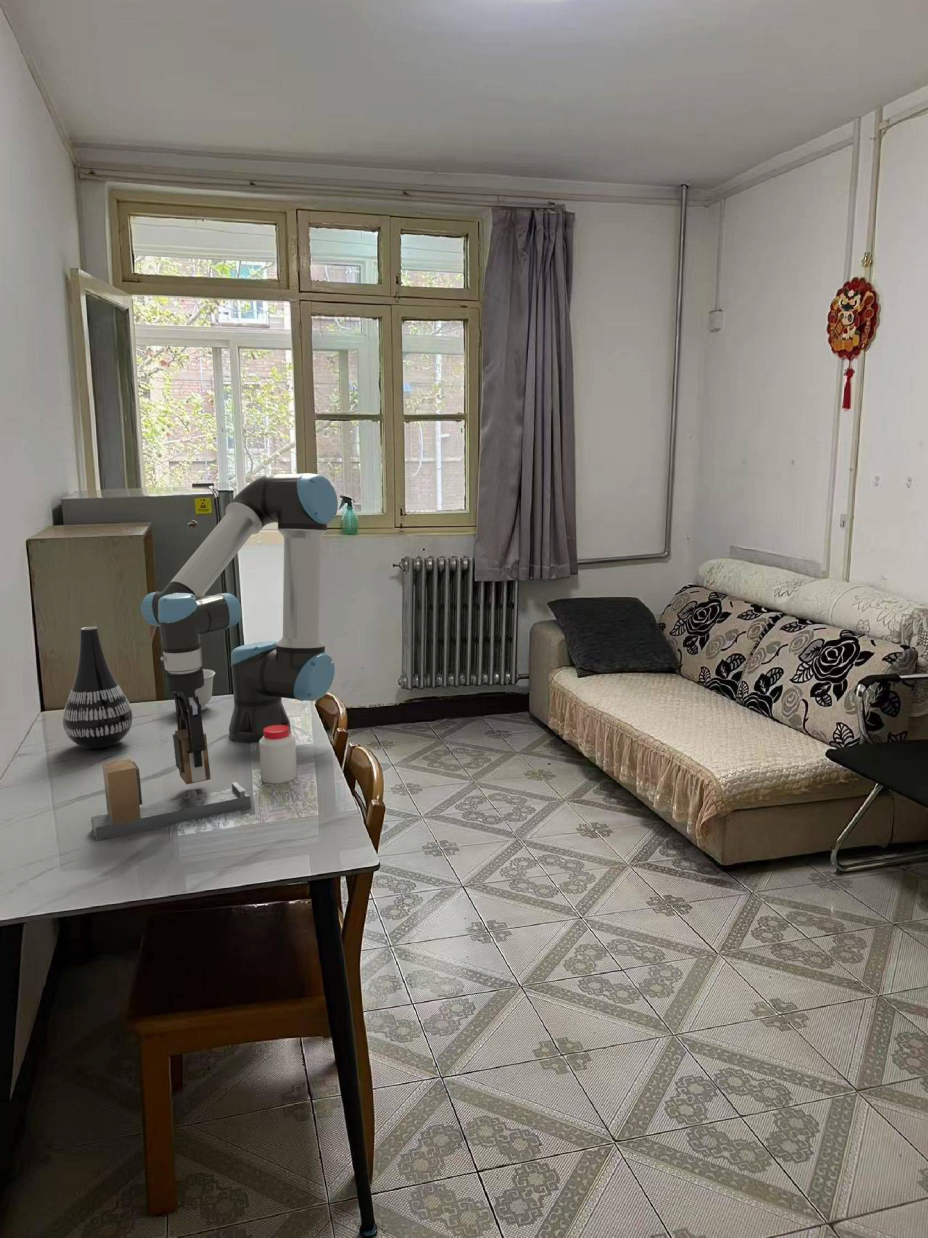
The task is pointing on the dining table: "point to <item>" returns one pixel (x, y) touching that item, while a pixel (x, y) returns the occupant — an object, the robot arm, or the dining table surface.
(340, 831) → the dining table surface
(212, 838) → the dining table surface
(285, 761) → the pill bottle
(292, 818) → the dining table surface
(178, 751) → the brown wooden block
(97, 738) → the vase
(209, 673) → the teacup
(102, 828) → the rail
